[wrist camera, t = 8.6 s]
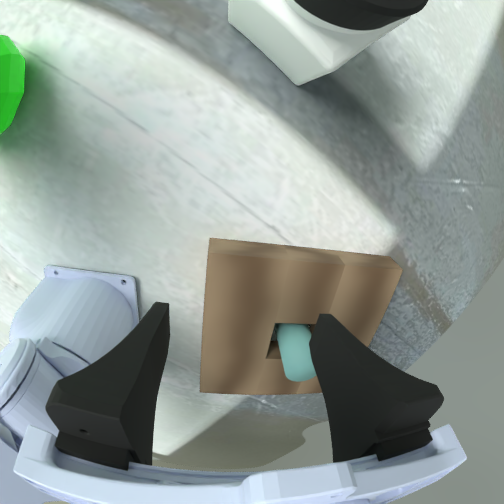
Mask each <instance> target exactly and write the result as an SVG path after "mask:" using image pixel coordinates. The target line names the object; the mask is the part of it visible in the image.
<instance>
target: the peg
mask: <svg viewBox="0 0 504 504" xmlns="http://www.w3.org/2000/svg"><path fill="white" fill-rule="evenodd" d="M274 327H275V332H276V336H277V340H278V345H279V349H280V353H281V358H282V362H283V367H284V371H285V375H286V377H287V378H288V379H289V380H292V381H296V382H300V381H306V380H309V379H311V378H313V377H315V376H316V372H315V369H314V366H313V363H312V359H311V354H310V348H309V341H310V339H311V336H312V335H311V332H310V329H309V327H308V324H294V323H275V325H274Z"/></svg>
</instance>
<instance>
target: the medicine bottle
mask: <svg viewBox="0 0 504 504" xmlns="http://www.w3.org/2000/svg"><path fill="white" fill-rule="evenodd" d="M427 2H428V0H229V8H228V22H229V23H230V24H231V25H233V26H234V27H235V28H236V29H237V30H238V31H240V32H241V33H242V34H243V35H244V36H245V37H246V38H248V39H249V40H250V41H251V42H252V43H253V44H254V45H255V46H256V47H258V48H259V49H260V50H261V51H262V52H263V53H264V54H265V55H266V56H267V57H268V58H269V59H270V60H271V61H272V62H273V63H274V64H275V65H276V66H277V67H278V68H279V69H280V70H281V71H282V72H283V73H284V74H285V75H286V76H287V77H288V78H289V79H290V80H291V81H292V82H293V83H294V84H295V85H302V84H304V83H306V82H309V81H311V80H314V79H316V78H319V77H321V76H324V75H326V74H329V73H331V72H334V71H336V70H337V69H338V68H340V67H341V66H342V65H344V64H345V63H346V62H348V61H349V60H350V59H352V58H353V57H354V56H356V55H357V54H358V53H360V52H361V51H363V50H364V49H365V48H367V47H368V46H370V45H371V44H372V43H374V42H375V41H377V40H378V39H380V38H381V37H383V36H384V35H386V34H387V33H389V32H390V31H392V30H393V29H395V28H396V27H398V26H399V25H401V24H402V23H404V22H405V21H407V20H408V19H409V18H410V15H413V14H415V13H417V12H419V11H420V10H422V9H423V8H424V6H425V5H426V3H427Z"/></svg>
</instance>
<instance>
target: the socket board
mask: <svg viewBox="0 0 504 504" xmlns="http://www.w3.org/2000/svg"><path fill="white" fill-rule="evenodd" d="M402 271H403V270H402V269H401V267H400V266H399V265H398V264H397V263H396V262H395V261H394V260H393V259H392V258H391V257H389V256H380V255H371V254H362V253H353V252H344V251H334V250H325V249H316V248H306V247H296V246H287V245H277V244H267V243H257V242H247V241H237V240H227V239H217V238H210V240H209V249H208V259H207V271H206V284H205V298H204V313H203V329H202V347H201V369H200V392H203V393H219V394H245V395H281V394H307V393H322V390H321V387H320V384H319V381H318V378H317V375H316V376H315V377H313V378H311V379H309V380H306V381H300V382H296V381H292V380H289V379H288V378H287V377H286V375H285V371H284V367H283V362H282V358H281V353H280V349H279V345H278V341H271V337H272V333H273V329H274V325H275V323H294V324H311V326H310V332H311V335H312V333H313V331H314V328H315V325H316V322H317V319H318V316H319V314H332V315H333V316H334V317H335V318H336V319H337V320H338V321H339V322H340V323H341V324H342V325H343V326H345V327H346V328H347V329H348V330H349V331H350V332H351V333H352V334H353V335H354V336H355V337H356V338H357V339H358V340H359V341H361V342H362V343H363V344H364V345H365V346H366V347H368V346H369V344H370V342H371V340H372V338H373V336H374V334H375V332H376V330H377V328H378V326H379V324H380V322H381V320H382V318H383V316H384V313H385V311H386V309H387V307H388V305H389V302H390V300H391V298H392V296H393V293H394V291H395V289H396V286H397V284H398V281H399V279H400V276H401V274H402Z"/></svg>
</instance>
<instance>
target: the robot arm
mask: <svg viewBox="0 0 504 504" xmlns="http://www.w3.org/2000/svg"><path fill="white" fill-rule="evenodd" d="M56 271H57V272H58V273H57V272H56ZM44 273H45V278H44V279H43V280H42V281H41V282H40V283H39V284H38V286H37V287H36V288H35V289H34V290H33V292H32V293H31V294H30V295H29V296H28V298H27V299H26V300H25V301H24V303H23V304H22V305H21V306H20V308H19V309H18V310H17V312H16V313H15V315H14V318H13V320H12V324H11V328H10V343H9V344H8V345H7V346H6V347H5V348H4V349H3V350H2V351H1V352H0V504H43V503H45V502H52V501H65V502H68V503H70V504H387V503H389V502H392V501H394V500H397V499H399V498H401V497H404V496H406V495H408V494H410V493H412V492H415V491H417V490H419V489H421V488H423V487H425V486H427V485H429V484H431V483H433V482H435V481H437V480H439V479H440V478H442V477H443V476H445V475H446V474H448V473H449V472H450V471H452V470H453V469H454V468H456V467H457V466H459V465H460V464H461V463H462V462H464V461H465V460H466V459H467V457H466V455H465V453H464V451H463V449H462V447H461V446H460V443H459V441H458V439H457V437H456V435H455V433H454V432H453V430H452V428H451V426H450V424H447V425H445V426H443V427H440V428H437V429H435V430H433V431H431V432H429V430H428V428H429V427H430V423H429V421H428V420H429V418H431V417H432V416H433V415H434V413H435V412H436V411H437V410H438V409H439V408H440V406H441V405H442V403H443V401H444V397H443V395H442V393H441V392H440V390H439V388H438V387H437V385H434V384H432V383H429V382H426V381H423V380H421V379H418V378H416V377H414V376H411V375H409V374H407V373H405V372H403V371H401V370H400V369H398V368H396V367H394V366H393V365H391V364H389V363H388V362H386V361H385V360H383V359H382V358H381V357H379V356H378V355H376V354H375V353H374V352H372V351H371V350H370V349H369V348H368V347H366V346H365V345H364V344H363V343H362V342H361V341H359V340H358V339H357V338H356V337H355V336H354V335H353V334H352V333H351V332H350V331H349V330H348V329H347V328H346V327H345V326H343V325H342V324H341V323H340V322H339V321H338V320H337V319H336V318H335V317H334V316H333V315H332V314H319V316H318V319H317V322H316V325H315V328H314V331H313V333H312V336H311V339H310V341H309V348H310V354H311V359H312V363H313V366H314V369H315V372H316V375H317V378H318V381H319V384H320V387H321V390H322V393H323V396H324V399H325V403H326V408H327V413H328V418H329V424H330V431H331V440H332V448H333V463H329V464H323V465H317V466H309V467H302V468H292V469H282V470H272V471H262V472H209V471H193V470H181V469H172V468H164V467H157V466H152V448H153V431H154V419H155V410H156V401H157V395H158V390H159V386H160V382H161V378H162V374H163V370H164V366H165V362H166V358H167V354H168V346H169V339H170V325H169V303H161V302H155V303H154V304H153V306H152V307H151V308H150V310H149V311H148V312H147V313H146V315H145V316H144V317H143V318H142V320H141V321H140V322H139V314H138V304H137V293H136V281H135V279H134V278H133V277H132V276H126V275H118V274H110V273H102V272H94V271H86V270H79V269H72V268H65V267H58V266H51V265H47V266H46V267H45V268H44ZM122 280H125V281H126V283H125V282H123V281H122Z"/></svg>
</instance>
